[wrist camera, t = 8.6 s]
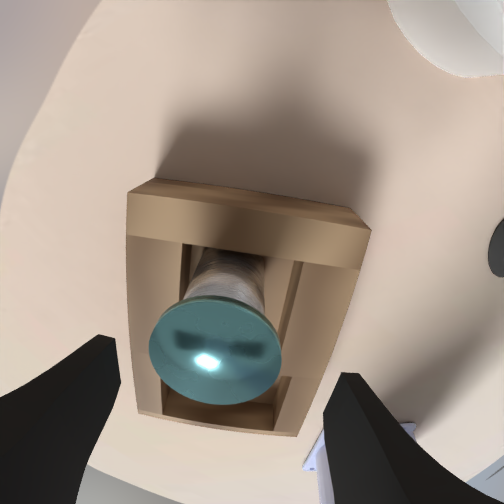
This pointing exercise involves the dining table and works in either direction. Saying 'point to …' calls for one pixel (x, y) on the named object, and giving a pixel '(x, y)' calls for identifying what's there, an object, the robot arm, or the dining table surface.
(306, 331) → the keyhole board
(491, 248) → the sundae
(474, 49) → the base with upright slab
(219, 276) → the peg
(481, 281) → the dining table surface
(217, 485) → the dining table surface
